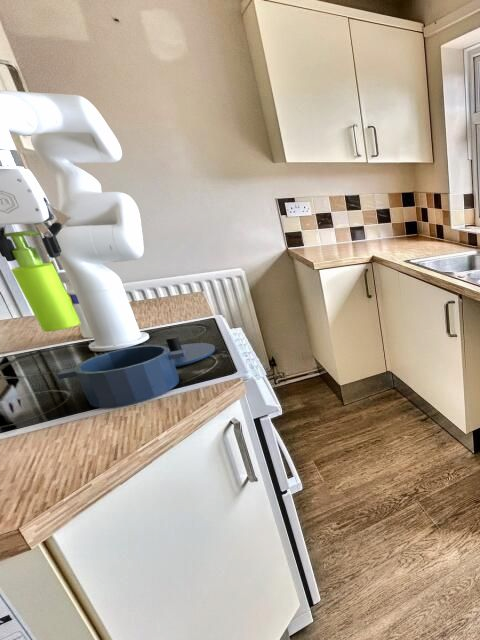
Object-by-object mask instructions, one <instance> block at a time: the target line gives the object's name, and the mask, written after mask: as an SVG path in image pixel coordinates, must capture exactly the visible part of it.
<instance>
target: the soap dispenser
mask: <svg viewBox="0 0 480 640" xmlns="http://www.w3.org/2000/svg"><path fill="white" fill-rule="evenodd" d="M40 234H41V232H39V231H36V230H35V231H34V230H22V231H15V232H6V234H4V236H5V237H7V238H8V237H9V238H11V241H12V243H13V245H14V248H15V249H14V250H12V253H13V255H14V257H15V259H16V260H15V261H16V263H17V265H18V266H16V267H14V268H11V272H12V274H13V276H14V278H15V280H16V281H17V284H18V286H19V287H20V290H21V292H22V293H23V295H24V297H25V299H26V301H27V303H28V304H29V306H30V308H31V310H32V313H33V315H34V316H35V318H36V320H37V323H38V324H39V326H40V328H41V330H42V331H43V332H57V331H61V330H66V329H70V328H74V327H76V326H79V324H80V323H81V322H80V320H79V318H78V316H77V314H76V312H75V309H74V307H73V305H72V303H71V301H70V299H69V297H68V295H67V293H66V289H65V286H64V285H63V284H64V283H63V282H62V281H61V280H60V278H59V276H58V273H57V272H58V271H57V270H56V268H55V266H54V264H53V263H50V262H47V263H46V262H44V261H43V260H42V257H41V256H40V254H39V251H38V250H37V248H36V247H32V246H29V244H28V242H27V240H26V238H25V236H26V237H33V236H40Z"/></svg>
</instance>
